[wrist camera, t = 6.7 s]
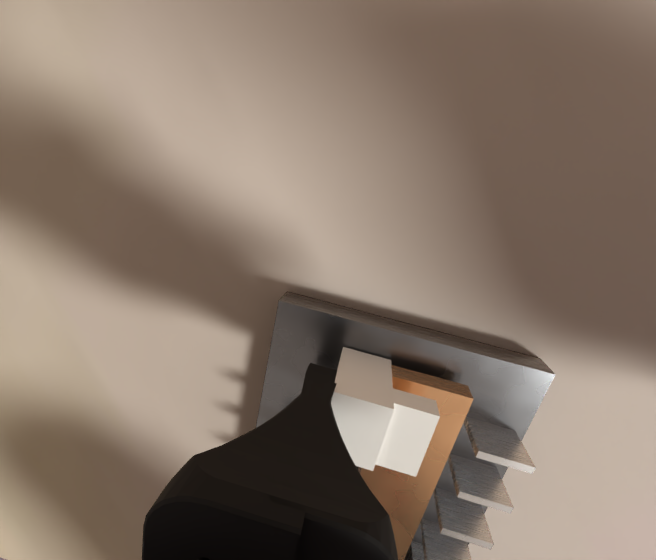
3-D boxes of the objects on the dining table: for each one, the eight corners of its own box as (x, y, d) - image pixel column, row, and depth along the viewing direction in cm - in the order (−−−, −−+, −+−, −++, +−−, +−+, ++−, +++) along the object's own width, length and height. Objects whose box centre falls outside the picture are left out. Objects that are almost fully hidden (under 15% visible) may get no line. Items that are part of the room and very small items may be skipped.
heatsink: (540, 358, 13) (584, 405, 10) (440, 564, 17) (452, 639, 14) (287, 291, 14) (263, 317, 11) (247, 500, 18) (222, 559, 15)
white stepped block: (427, 370, 13) (441, 422, 10) (409, 421, 13) (416, 484, 11) (342, 346, 13) (332, 391, 10) (329, 398, 14) (316, 453, 11)
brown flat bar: (473, 383, 12) (484, 406, 11) (397, 561, 16) (399, 596, 14) (383, 358, 13) (383, 378, 11) (327, 538, 16) (323, 570, 15)
